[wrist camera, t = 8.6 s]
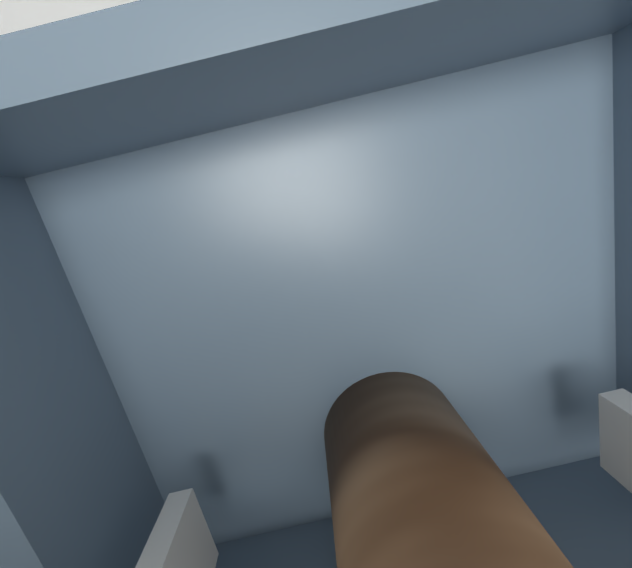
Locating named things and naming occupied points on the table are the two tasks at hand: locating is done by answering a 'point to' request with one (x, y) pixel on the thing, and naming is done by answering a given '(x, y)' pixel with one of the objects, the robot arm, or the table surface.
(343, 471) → the walnut cylinder
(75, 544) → the tote
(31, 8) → the table surface
